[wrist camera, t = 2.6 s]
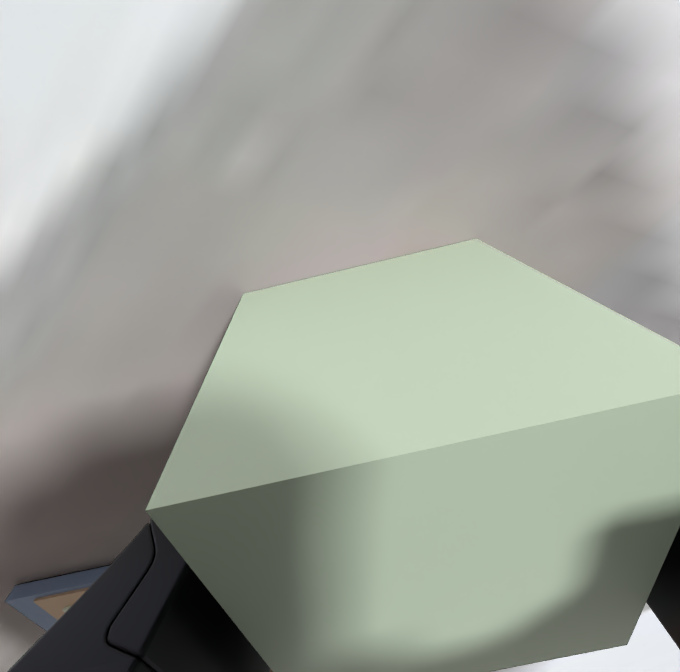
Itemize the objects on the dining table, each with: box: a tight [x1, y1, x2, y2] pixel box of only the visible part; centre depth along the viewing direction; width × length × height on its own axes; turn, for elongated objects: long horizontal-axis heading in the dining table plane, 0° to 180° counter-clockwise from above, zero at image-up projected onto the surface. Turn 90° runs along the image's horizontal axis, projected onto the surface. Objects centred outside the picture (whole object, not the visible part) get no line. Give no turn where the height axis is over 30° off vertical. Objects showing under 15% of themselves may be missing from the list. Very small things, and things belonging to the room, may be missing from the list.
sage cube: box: [145, 239, 680, 672], centre depth 7 cm, size 6×6×6 cm
